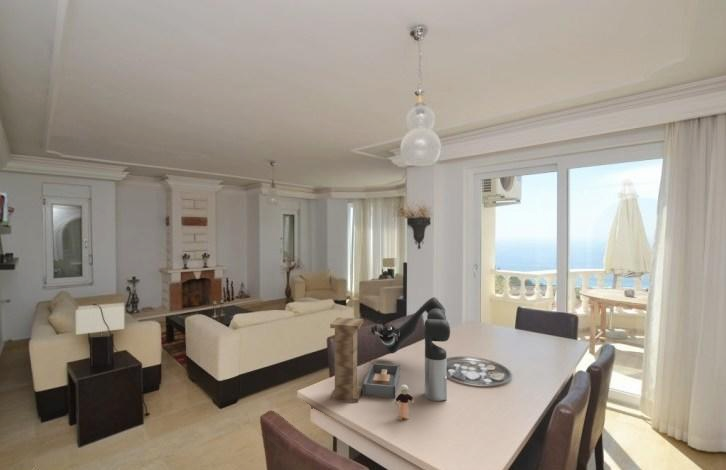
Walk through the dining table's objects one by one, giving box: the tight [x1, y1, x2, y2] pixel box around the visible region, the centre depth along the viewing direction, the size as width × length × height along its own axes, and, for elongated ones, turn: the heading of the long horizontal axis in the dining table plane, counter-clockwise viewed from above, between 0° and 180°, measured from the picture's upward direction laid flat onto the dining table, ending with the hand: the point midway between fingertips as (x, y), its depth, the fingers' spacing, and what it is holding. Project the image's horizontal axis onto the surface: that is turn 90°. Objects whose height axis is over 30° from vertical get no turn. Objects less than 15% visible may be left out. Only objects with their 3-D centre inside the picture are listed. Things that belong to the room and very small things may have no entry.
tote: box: [362, 362, 401, 399], centre depth 157 cm, size 14×24×5 cm, turn 169°
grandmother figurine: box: [393, 384, 415, 421], centre depth 129 cm, size 8×4×13 cm, turn 105°
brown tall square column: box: [329, 317, 364, 403], centre depth 147 cm, size 12×12×32 cm
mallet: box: [373, 369, 390, 385], centre depth 158 cm, size 7×16×4 cm, turn 170°
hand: (383, 328), depth 160 cm, fingers open, 7 cm apart
